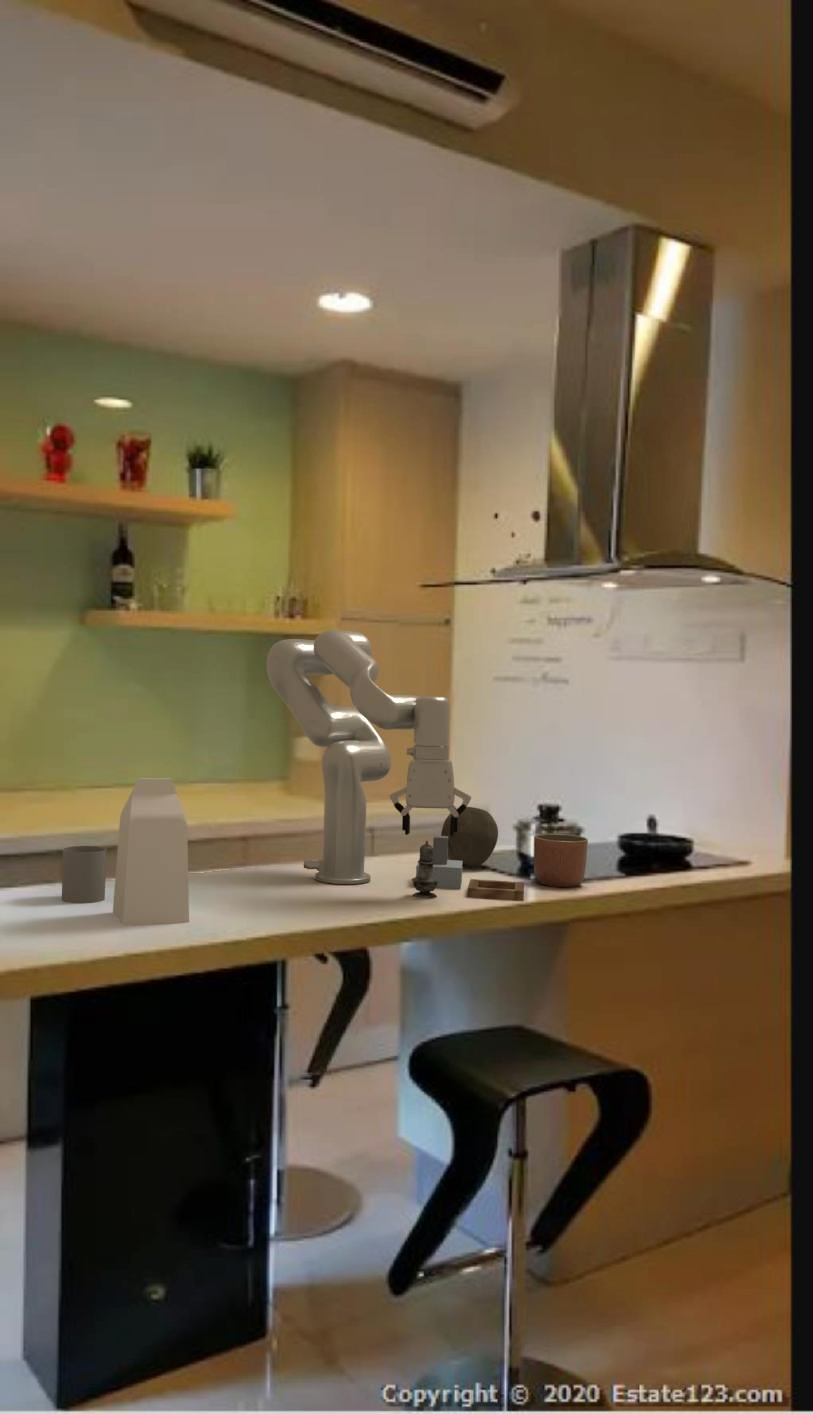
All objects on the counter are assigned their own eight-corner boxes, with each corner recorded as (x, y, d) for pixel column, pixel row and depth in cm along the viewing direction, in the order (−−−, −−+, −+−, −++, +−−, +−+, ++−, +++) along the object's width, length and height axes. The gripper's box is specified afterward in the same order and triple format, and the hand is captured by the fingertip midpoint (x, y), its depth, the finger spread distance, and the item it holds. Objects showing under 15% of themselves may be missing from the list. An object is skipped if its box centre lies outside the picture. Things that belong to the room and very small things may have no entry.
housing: (415, 887, 250) (417, 838, 250) (418, 879, 260) (420, 832, 260) (460, 890, 249) (462, 841, 249) (461, 882, 259) (463, 834, 259)
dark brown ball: (498, 873, 272) (501, 811, 271) (440, 870, 272) (442, 809, 271) (494, 863, 286) (497, 805, 285) (439, 861, 286) (441, 802, 285)
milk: (122, 925, 202) (127, 781, 201) (112, 912, 212) (117, 775, 212) (189, 922, 206) (194, 781, 206) (176, 909, 217) (180, 775, 216)
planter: (548, 890, 252) (550, 841, 252) (522, 880, 264) (524, 833, 264) (596, 888, 257) (598, 840, 257) (569, 878, 268) (570, 833, 268)
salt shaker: (435, 899, 236) (438, 843, 236) (408, 897, 237) (410, 841, 237) (440, 894, 242) (442, 839, 242) (414, 892, 243) (416, 837, 243)
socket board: (467, 897, 240) (467, 887, 240) (470, 887, 251) (470, 879, 251) (523, 900, 239) (523, 891, 239) (523, 891, 250) (524, 882, 250)
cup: (65, 904, 218) (67, 853, 217) (57, 896, 225) (59, 846, 225) (109, 901, 222) (111, 851, 221) (100, 893, 229) (101, 845, 229)
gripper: (388, 754, 236) (387, 835, 236) (470, 756, 234) (469, 838, 234) (393, 752, 243) (391, 831, 244) (472, 754, 242) (471, 833, 242)
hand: (429, 834), depth 239 cm, fingers open, 9 cm apart
